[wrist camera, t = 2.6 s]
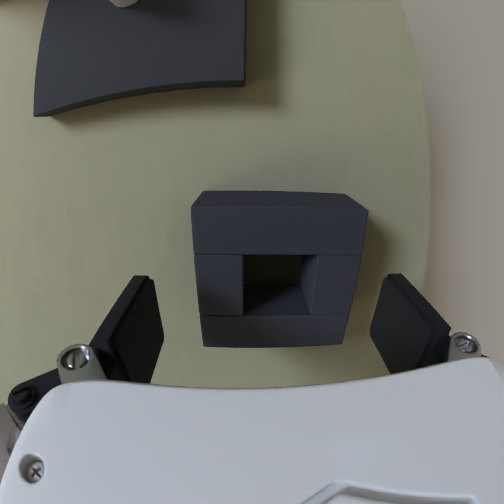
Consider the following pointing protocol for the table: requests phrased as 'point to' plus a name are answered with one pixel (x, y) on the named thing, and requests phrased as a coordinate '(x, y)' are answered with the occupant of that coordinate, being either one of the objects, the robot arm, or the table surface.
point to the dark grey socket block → (276, 243)
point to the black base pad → (136, 49)
